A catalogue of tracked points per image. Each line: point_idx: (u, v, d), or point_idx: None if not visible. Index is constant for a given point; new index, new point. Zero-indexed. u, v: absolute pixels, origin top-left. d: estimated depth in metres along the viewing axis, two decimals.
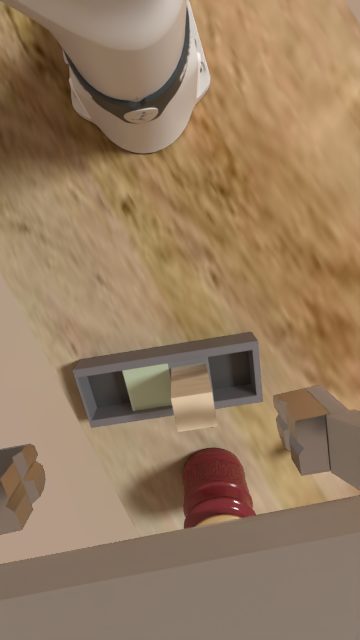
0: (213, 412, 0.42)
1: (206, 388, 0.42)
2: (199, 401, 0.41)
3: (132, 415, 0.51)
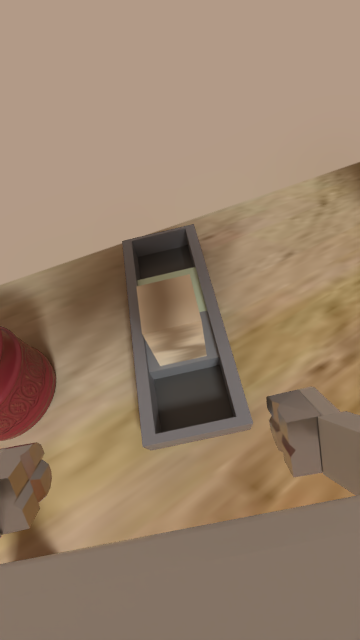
0: (166, 326, 0.28)
1: None
2: (185, 306, 0.29)
3: (134, 276, 0.42)
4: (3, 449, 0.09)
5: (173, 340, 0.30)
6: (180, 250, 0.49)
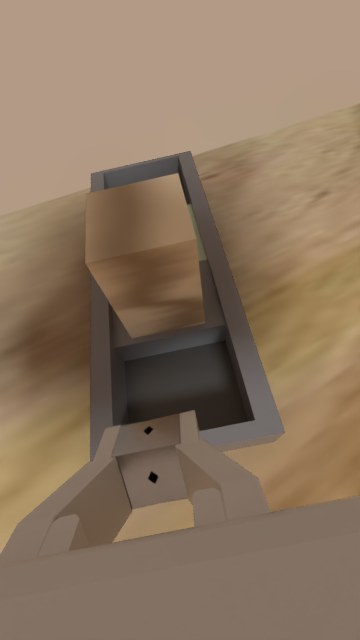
0: (130, 249, 0.15)
1: None
2: (168, 217, 0.16)
3: None
4: (119, 426, 0.09)
5: (147, 286, 0.17)
6: None
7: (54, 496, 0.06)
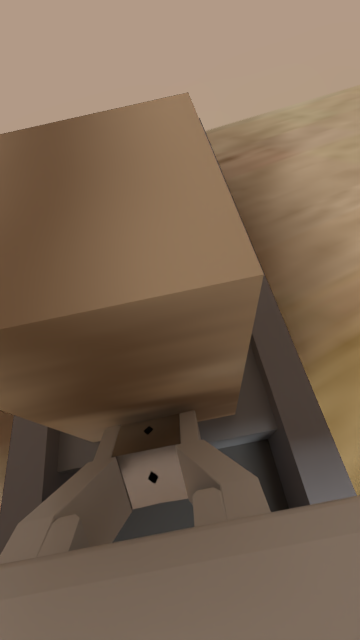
0: (24, 310, 0.04)
1: None
2: (162, 201, 0.05)
3: None
4: (119, 426, 0.09)
5: (106, 385, 0.07)
6: None
7: (54, 496, 0.06)
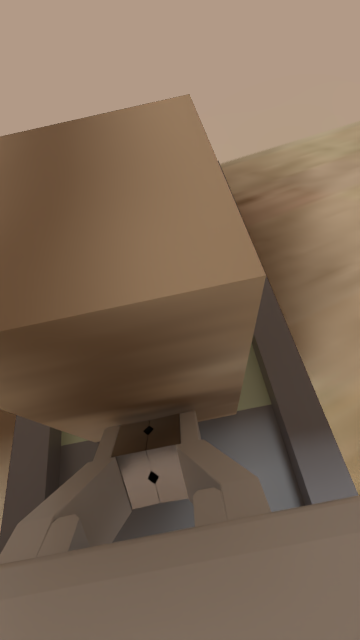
0: (28, 311, 0.04)
1: None
2: (164, 202, 0.05)
3: None
4: (119, 426, 0.09)
5: (108, 385, 0.07)
6: None
7: (54, 496, 0.06)
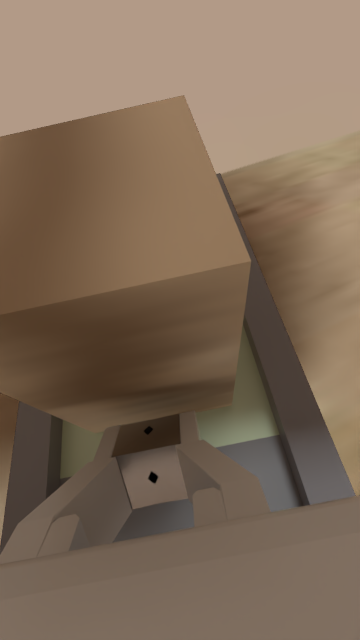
0: (33, 295, 0.05)
1: None
2: (159, 196, 0.05)
3: None
4: (119, 426, 0.09)
5: (107, 371, 0.07)
6: None
7: (54, 496, 0.06)
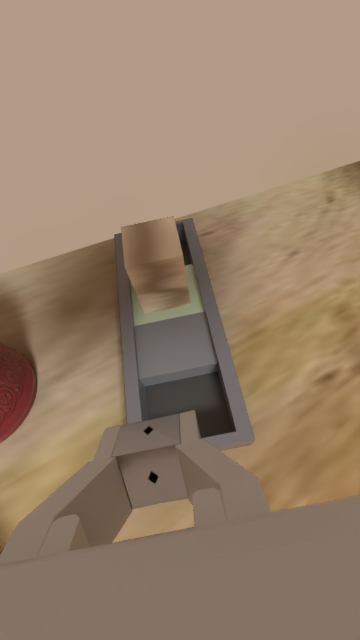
0: (148, 260, 0.29)
1: None
2: (168, 243, 0.30)
3: (126, 272, 0.39)
4: (119, 426, 0.09)
5: (156, 280, 0.31)
6: None
7: (54, 496, 0.06)
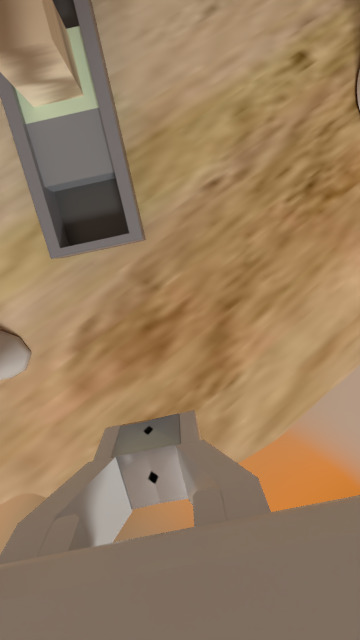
0: (11, 45, 0.24)
1: (54, 39, 0.25)
2: (30, 13, 0.24)
3: None
4: (119, 426, 0.09)
5: (30, 69, 0.27)
6: None
7: (54, 496, 0.06)
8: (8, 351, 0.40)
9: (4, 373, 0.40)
